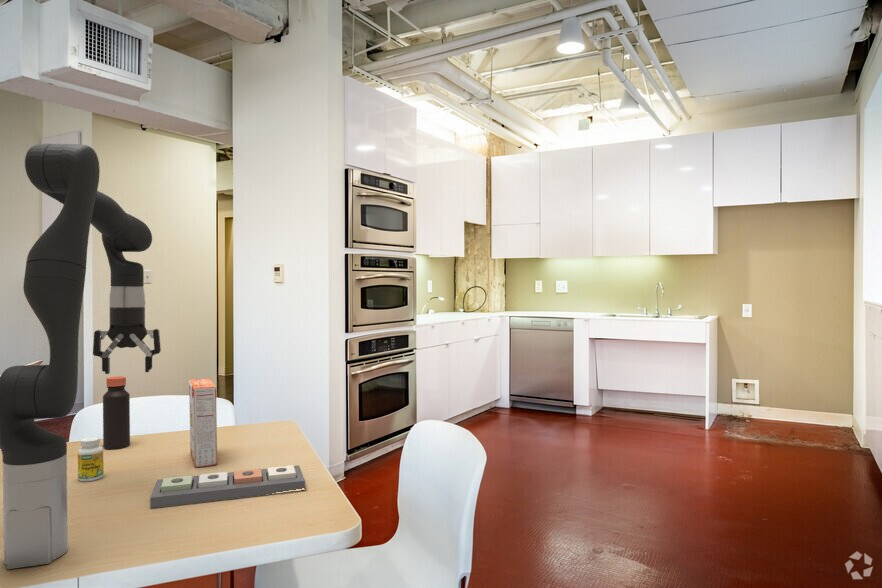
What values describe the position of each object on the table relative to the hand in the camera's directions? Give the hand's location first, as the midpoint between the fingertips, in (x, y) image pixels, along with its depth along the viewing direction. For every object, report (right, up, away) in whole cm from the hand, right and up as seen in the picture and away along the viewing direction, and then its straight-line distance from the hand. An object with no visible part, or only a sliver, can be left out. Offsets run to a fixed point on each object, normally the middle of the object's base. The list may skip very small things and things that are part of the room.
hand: (127, 372), depth 142 cm
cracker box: (+12, -26, +16) cm, 33 cm away
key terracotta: (+31, -24, -6) cm, 40 cm away
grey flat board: (+27, -26, -7) cm, 38 cm away
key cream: (+38, -24, -3) cm, 45 cm away
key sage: (+17, -25, -11) cm, 31 cm away
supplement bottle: (-10, -26, +1) cm, 28 cm away
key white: (+24, -24, -8) cm, 35 cm away
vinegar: (-18, -25, +29) cm, 43 cm away
